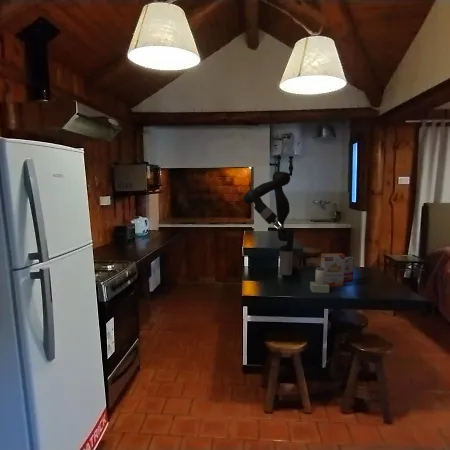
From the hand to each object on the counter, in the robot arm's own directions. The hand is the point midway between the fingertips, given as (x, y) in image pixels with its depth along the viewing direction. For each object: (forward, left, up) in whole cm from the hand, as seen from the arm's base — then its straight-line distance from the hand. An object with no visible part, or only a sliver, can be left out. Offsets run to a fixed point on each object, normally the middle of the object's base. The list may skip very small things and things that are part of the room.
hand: (285, 233), depth 249 cm
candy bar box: (-13, +42, -34) cm, 55 cm away
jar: (+12, +21, -30) cm, 38 cm away
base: (+12, +21, -34) cm, 41 cm away
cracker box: (0, +31, -34) cm, 46 cm away
